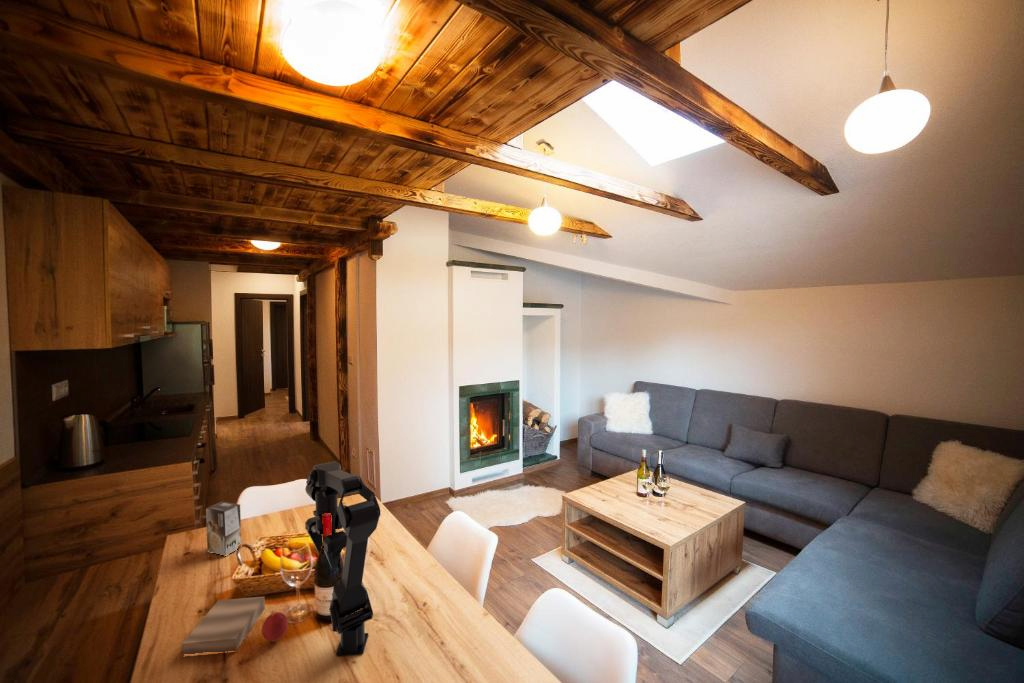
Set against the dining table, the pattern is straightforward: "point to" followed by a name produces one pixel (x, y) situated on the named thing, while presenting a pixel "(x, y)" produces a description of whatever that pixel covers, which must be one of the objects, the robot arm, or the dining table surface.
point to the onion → (274, 626)
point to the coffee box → (223, 527)
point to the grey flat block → (224, 626)
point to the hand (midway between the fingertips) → (327, 561)
